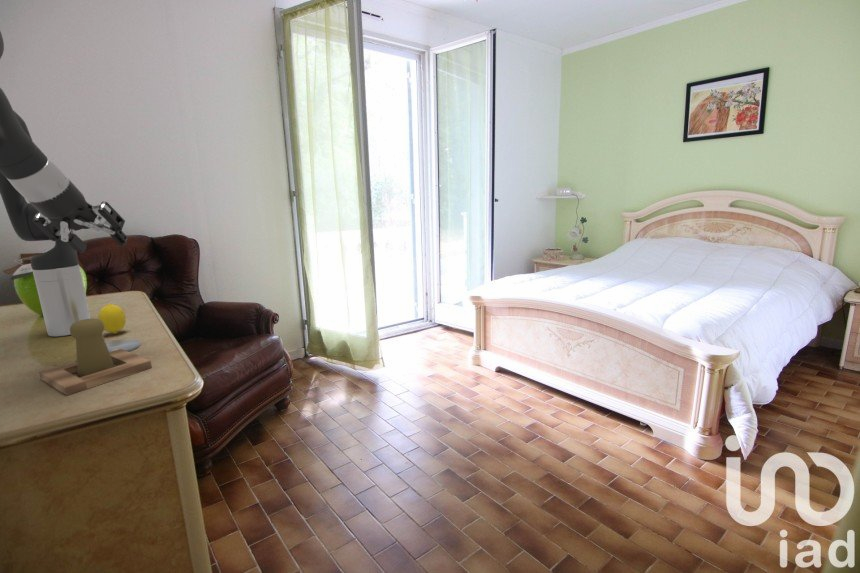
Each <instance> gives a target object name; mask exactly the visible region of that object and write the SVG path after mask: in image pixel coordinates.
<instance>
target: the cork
mask: <svg viewBox="0 0 860 573" xmlns="http://www.w3.org/2000/svg"><path fill="white" fill-rule="evenodd" d="M104 331H105V330H104V324H103V322H102V321H101V320H99V318H91V319H84V320H80V321H77V322H74V323H73V324H72V325H71V327H70V333H71V337H73V338H74V339H75V347H76V349H75V350H76V351H75V352H76V361H77V370H78V373H77V377H78V378H80V377H83V376H87V375H90V374H93V373H96V372H100V371H103V370H106V369H109V368H113V367H116V366H115V364H114V363H113V361H112V358H111V356H110V353H109V351H108V348H107V345H106V343H107V342H106V340H105V338H104V336H103V333H104Z"/></svg>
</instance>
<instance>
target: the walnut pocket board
mask: <svg viewBox="0 0 860 573" xmlns="http://www.w3.org/2000/svg"><path fill="white" fill-rule="evenodd" d="M109 353H110V356H111V358H112V361H113V363H115V364H114V365H116V364H117V365H116V366H115V367H113V368H109V369H106V370H103V371H100V372H96V373H93V374H90V375H87V376H83V377H80V378H78V375H75V374H76V373H75V372H78V370H77V360H76V361H72V362H71V361H70V362H68V363H65V364H60V365H57V366H54V367H51V368H46V369H43V370H40V371H38V374H39V375H38V376H39V379H40V380H41V379H42V380H41V381H43V382H44V381H45V383H46V384H47V385H50V386H51V387H52V388H54V389H56V390H57V391H58V392H60V393H62V394H64V396H70V395H73V394H76V393H79V392H82V391H85V390H88V389H92V388H94V387H96V386H100V385H103V384H106V383H109V382H113V381H115V380H119V379H121V378H125V377H127V376H130V375H134V374H136V373H140V372H143V371H145V370H150V369H151V368H153V367H152V361H151V360H150V359H147V358H145V357H142V356H140V355H137V354H134V353H133V352H131V351H129V352H127V351H125V350H122V349H117V350H114V351H110V352H109ZM139 371H140V372H139ZM72 373H75V374H72ZM133 373H134V374H133Z"/></svg>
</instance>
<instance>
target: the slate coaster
mask: <svg viewBox="0 0 860 573" xmlns="http://www.w3.org/2000/svg"><path fill="white" fill-rule="evenodd" d="M105 343H106V345H107V348H108V351H109V352H110V351H114V350H117V349H122V350H125V351H127V352H131V351H134V350H136V349H138V348H139V347H140V346H142V345H141V344H142V343H141V340H140V339H137V338H126V339H119V340H118V339H117V340H112V341H108V342H105Z"/></svg>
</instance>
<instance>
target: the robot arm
mask: <svg viewBox="0 0 860 573" xmlns="http://www.w3.org/2000/svg"><path fill="white" fill-rule="evenodd" d="M4 51H5V43H4V38H3V35H2V32H1V31H0V60H1V58H2V56H3V54H4ZM0 196H1V199H2V202H3V205H4V207H5V210H6V213H7V216H8V219H9V221H10V224H11V226H12V228H13V230H14V232H15V234H16V235H17V236H18V237H19V238H20V239H21V240H22V241H25V242H38V241H39V242H40V241H41V242H42V241H43V242H44V241H52V242H54V247H52V248H51V249H49V250H47V251H46V252H44V253H41V254H38V255H35V256H33V257H31V258H30V266H31V270H32V273H33V279H34V282H35V286H36V291H37V294H38V299H39V303H40V308H41V310H42V315H43V316H42V317H43V319H44V324H45V327H46V328H45V329H46V331H47V335H48V336H49V337H65V336H70V335H71V333H70V327H71V325H72V324H73V323H74V322H77V321H80V320H84V319H92V318H91V314H90V309H89V308H90V307H89V304H88V299H87V295H86V290H85V286H84V280H83V275H82V272H81V269H80V268H81V267H80V264H79V263H80V262H79V256H78V253H80V254H81V253H85V252H86V250H87V247H88V246H87V244H86V243H85V242H84V241H83V240H82V239H81V238H80V237H79V236H78V235H77V234H76V233H74V231H75V232H76V231H81V230H89V229H92V230H94V231H96V232H97V231H98V232H101V231H102V232H104V233H107V234H110V237H111V238H112V239H113V240H114V241H115V242H116V243H117V245H119V246H120V247H124V246H126V244H127V241H128V236H127V235H126V233H124V231H123V228H124V225H125V223H126V220H125V219H124V218H123V217H122V216H121V215H120V214H119V213H118V211H117V210H116V209H115V208H113V206H111V204H110V203H109V202H107V201H101V203H100V204H98V205H95V206H93V205H92V204H90V203H89V202H87V201H86V198H85V196H84V194H83V193H82V192H81V191H80V190H79V189H78V187H76V185H75V184H74V183H73V182H72V181H71V180H70V178H69V177H67V176H66V174H65V172H63V170H62V169H60V168H59V167H58V165H56V164H55V163H54V162H52V161H51V160H50V159H49V158H48V157H47V156H46V155H45V153H44V152H43V151H42V150H41V149H40V148H39V147H38V145H37V144H36V143H35V142H33V139H32V136H31V133H30V131H29V128H28V126H27V124H26V122H25V120H24V119H23V118H22V117H21V116H20V115H19V114H18V113H17V112H16V111H15V110H14V109H13V107H12V105H11V102H10V101H9V98H8V97H7V95H6V93H5V92H4V91H3V89H2V88H1V87H0ZM96 220H98V223H95V222H96ZM71 336H72V335H71Z"/></svg>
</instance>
